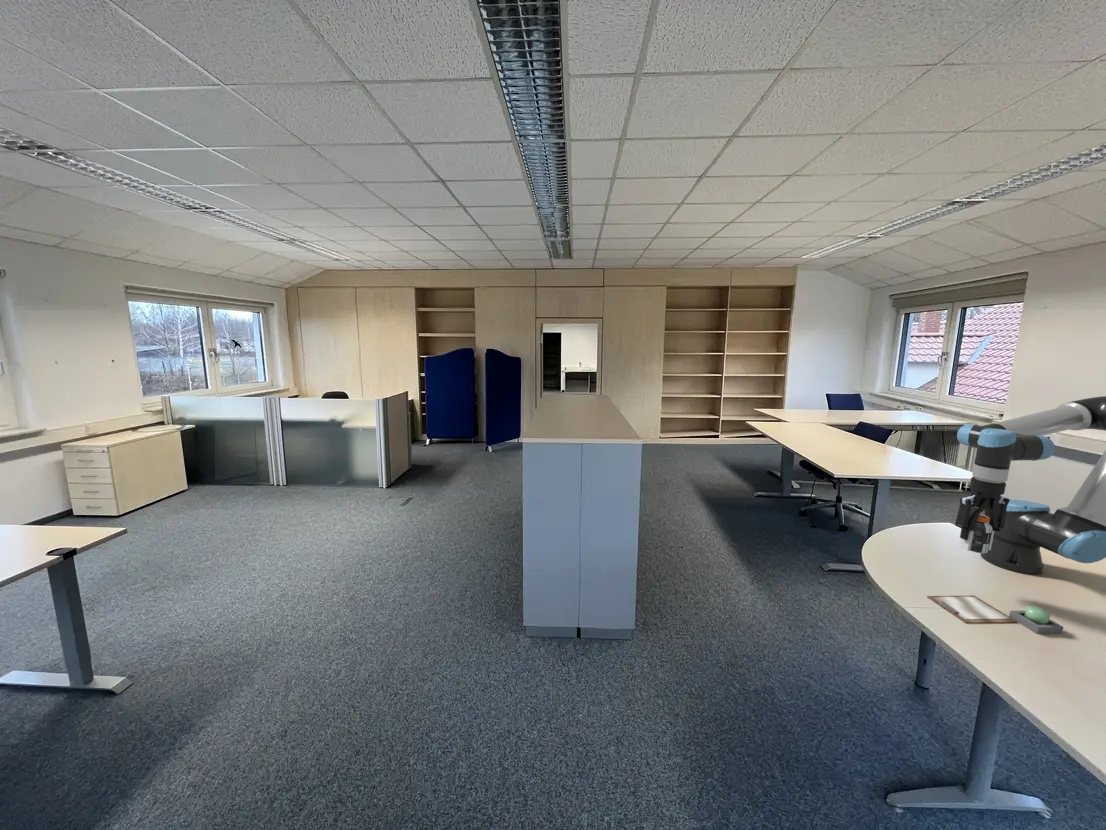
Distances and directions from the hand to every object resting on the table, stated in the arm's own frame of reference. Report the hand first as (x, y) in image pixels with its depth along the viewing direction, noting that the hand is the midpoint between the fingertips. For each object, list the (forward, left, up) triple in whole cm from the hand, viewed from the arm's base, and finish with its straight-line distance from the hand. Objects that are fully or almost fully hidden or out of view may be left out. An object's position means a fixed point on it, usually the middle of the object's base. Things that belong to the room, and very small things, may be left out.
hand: (974, 548), depth 132 cm
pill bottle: (0, 0, -1) cm, 1 cm away
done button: (-1, +18, -12) cm, 22 cm away
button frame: (-1, +18, -14) cm, 23 cm away
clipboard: (+10, +11, -14) cm, 20 cm away
